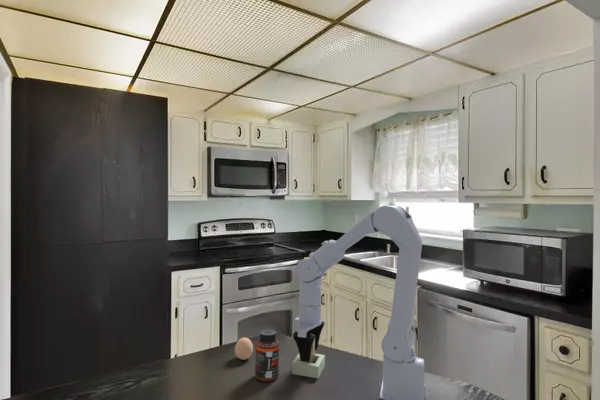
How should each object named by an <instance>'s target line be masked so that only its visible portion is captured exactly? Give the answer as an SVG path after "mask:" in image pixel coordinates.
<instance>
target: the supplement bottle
mask: <svg viewBox="0 0 600 400" xmlns="http://www.w3.org/2000/svg"><path fill="white" fill-rule="evenodd" d="M254 365H255V366H254V367H255V369H254V370H255V371H254V373H255V374H254V376H255V378H256V379H257V380H259V381H260V382H272V381H275V380H276V379H277V378H278V377H279V372H280V340H278V339H277V331H276V330H273V329H264V330H261V331H260V332H259V339H257V341H256V342H255V364H254Z"/></svg>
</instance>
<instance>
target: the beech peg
mask: <svg viewBox="0 0 600 400" xmlns="http://www.w3.org/2000/svg"><path fill="white" fill-rule="evenodd" d="M310 335H313V334H310ZM314 336H315V335H314ZM315 354H316V350H315V339H314V342H313V345H312V349H311V356H310V360H309V362H308V363H314V364H315Z"/></svg>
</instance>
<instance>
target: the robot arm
mask: <svg viewBox="0 0 600 400" xmlns="http://www.w3.org/2000/svg"><path fill="white" fill-rule="evenodd" d="M378 232H380V233H382V234H383V235H385V236H387V237H388V238H389V239H390V240H392V242H393V243H395V245H396V246H397V247H398V248H399V251H398V257H397V266H396V276H395V282H394V291H393V299H392V307H391V316H390V318H389V322H388V325H387V331H386V333H385V335H384V336H383V337H382V340H381V349H382V352H383V358H382V359H383V360H382V361H383V362H382V363H383V364H382V366H383V367H382V380H381V387H380V393H379V398H380V400H425V394H426V384H425V359H424V358H421V357H418V356H416V353H415V351H414V349H413V346H414V345H415V343H417V336H418V335H417V331H416V329H415V317H414V314H415V312H414V311H415V304H416V295H417V289H418V281H419V280H418V279H419V274H420V273H419V272H420V265H421V257H422V256H421V255H422V247H423V240H422V237H421V235H420V233H419V231H418V229H417V226H416V225H415V223H414V221H413V216H412V215H411V214H410V213H409V212H408V211H407V210H406V209H404V207H402V206H400V205H396V204H394V205H393V204H392V205H382V206H379V207H378V208H376V210H374V211H372V212H370V213H369V214H367V215H366V216H364V217H363V218H362V219H361V220H360V221H358V222H357V223H355V224H354V226H352V227H351V228H350V229H348V231H346V233H344V234H343V235H341V237H339V238H338V239H337V240H334V239H329V240H325V241H323V242H322V243H321V246H320V247H319V248H318V249H317V250H315V251H314V252H313V251H312V252H310V253H309V254H308V256H309V257H308V258H303V259H302V258H301V259H300V260H299V262H298V263H297V265H296V267H295V268H296V269H295V272H296V276H297V277H298V279H299V292H298V293H299V299H298V300H299V301H298V302H299V307H298V309H299V310H298V316H297V317H295V318H294V322H295V323H297V324H298V328H297V331H294V332H293V334H292V337H293V340H294V341H295V344H296V346H297V347H296V348H297V349H298V350H297V351H298V354H299V355H300V359H301V361H303V362H309V360H310V356H311V349H312V345H313V342H314V339H315V351H317V349H318V348H319V341H320V337H321V334H322V331H323V329H324V327H325V321H323V320H322V316H321V314H322V307H321V306H322V277H323V276H324V274H325V273H326V272H327V271H329V270H330V269H331V268H332V267H333V266H335V265H337V264H338V263H339V262H340V261H342V260H343V259H344V258H345V253H346V251H347V250H348V249H349V248H350V247H352V246H353V245H355V244H356V243H358V242H359V241H360V240H362V239H363V238H364V237H366V236H367V235H369V234H374V233H378ZM310 334H313V335H310ZM314 335H315V336H314Z"/></svg>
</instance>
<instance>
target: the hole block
mask: <svg viewBox="0 0 600 400" xmlns="http://www.w3.org/2000/svg"><path fill="white" fill-rule="evenodd" d="M291 363H292V364H291V374H292V375H297V376H302V377H307V378H311V379H312V378H313V379H319V378H320V376H321V374H322V373H323V370H324V369H325V366H326V355H325V354H321V353H315V364H314V363H308V362H303V361H301V359H300V355H299V353H298V354H297V355H296V356H295V357H294V360H292V362H291Z"/></svg>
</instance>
